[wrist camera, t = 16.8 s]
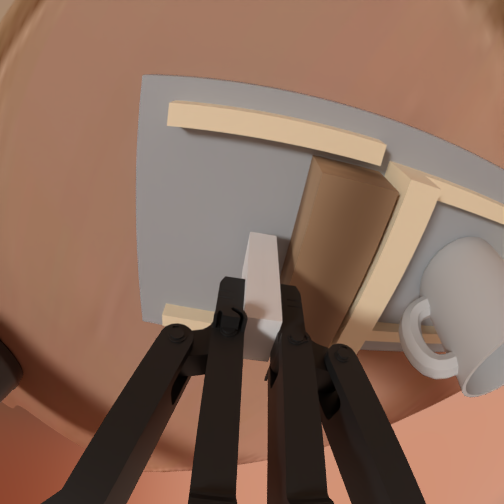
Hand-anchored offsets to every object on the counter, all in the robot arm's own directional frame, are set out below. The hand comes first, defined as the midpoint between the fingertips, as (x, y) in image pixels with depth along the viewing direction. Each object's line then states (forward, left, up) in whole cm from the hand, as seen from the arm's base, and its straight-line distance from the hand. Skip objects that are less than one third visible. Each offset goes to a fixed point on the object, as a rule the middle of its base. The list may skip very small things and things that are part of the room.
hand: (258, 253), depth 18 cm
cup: (+14, 0, -1) cm, 14 cm away
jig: (+7, 0, -2) cm, 8 cm away
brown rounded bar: (+4, 0, -1) cm, 4 cm away
